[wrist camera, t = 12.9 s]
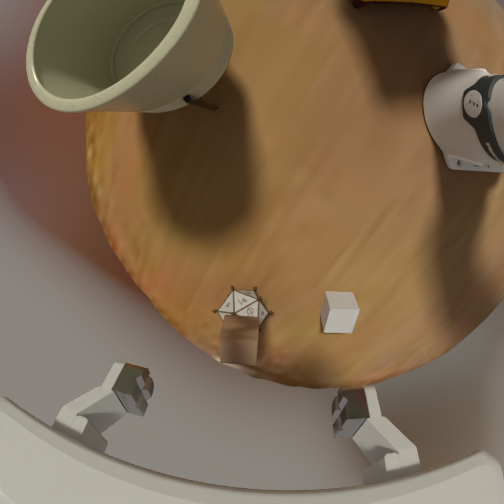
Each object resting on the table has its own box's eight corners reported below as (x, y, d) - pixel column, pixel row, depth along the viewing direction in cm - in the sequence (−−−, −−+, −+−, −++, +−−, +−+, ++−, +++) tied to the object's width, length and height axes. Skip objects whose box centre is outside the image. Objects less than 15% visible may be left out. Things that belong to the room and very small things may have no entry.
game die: (239, 279, 49) (216, 274, 40) (283, 295, 46) (270, 294, 37) (223, 324, 49) (197, 330, 39) (265, 342, 46) (248, 353, 36)
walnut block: (259, 317, 38) (257, 341, 34) (257, 341, 40) (256, 365, 36) (224, 314, 38) (219, 338, 34) (225, 338, 41) (220, 362, 36)
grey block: (352, 292, 45) (359, 309, 40) (345, 314, 47) (351, 332, 42) (325, 291, 45) (330, 308, 40) (319, 313, 47) (323, 332, 43)
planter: (138, 32, 27) (37, -14, 7) (243, 17, 27) (211, -81, 6) (135, 120, 34) (17, 134, 13) (241, 112, 33) (197, 90, 13)
